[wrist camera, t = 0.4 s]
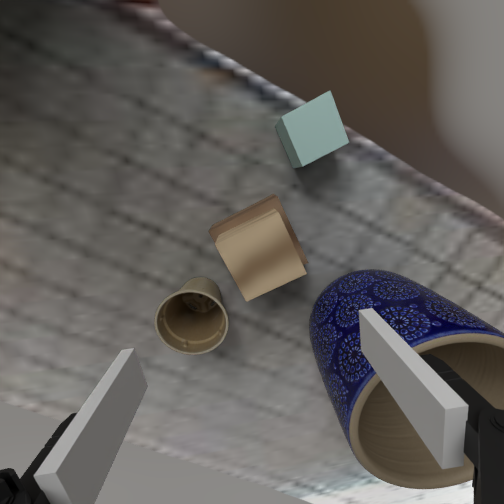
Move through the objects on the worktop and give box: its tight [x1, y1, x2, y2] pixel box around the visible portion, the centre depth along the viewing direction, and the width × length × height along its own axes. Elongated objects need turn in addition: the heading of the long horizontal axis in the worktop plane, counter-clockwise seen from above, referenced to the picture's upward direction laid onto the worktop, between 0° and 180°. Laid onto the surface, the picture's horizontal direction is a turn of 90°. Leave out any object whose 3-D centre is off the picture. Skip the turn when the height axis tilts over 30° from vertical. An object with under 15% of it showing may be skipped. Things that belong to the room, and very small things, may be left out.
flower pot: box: [155, 277, 229, 355], centre depth 37 cm, size 9×9×9 cm
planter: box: [309, 269, 504, 489], centre depth 33 cm, size 18×18×21 cm
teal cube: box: [275, 91, 349, 168], centre depth 33 cm, size 6×6×6 cm
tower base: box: [209, 194, 308, 265], centre depth 37 cm, size 10×10×5 cm
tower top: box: [215, 208, 307, 302], centre depth 33 cm, size 8×8×5 cm
